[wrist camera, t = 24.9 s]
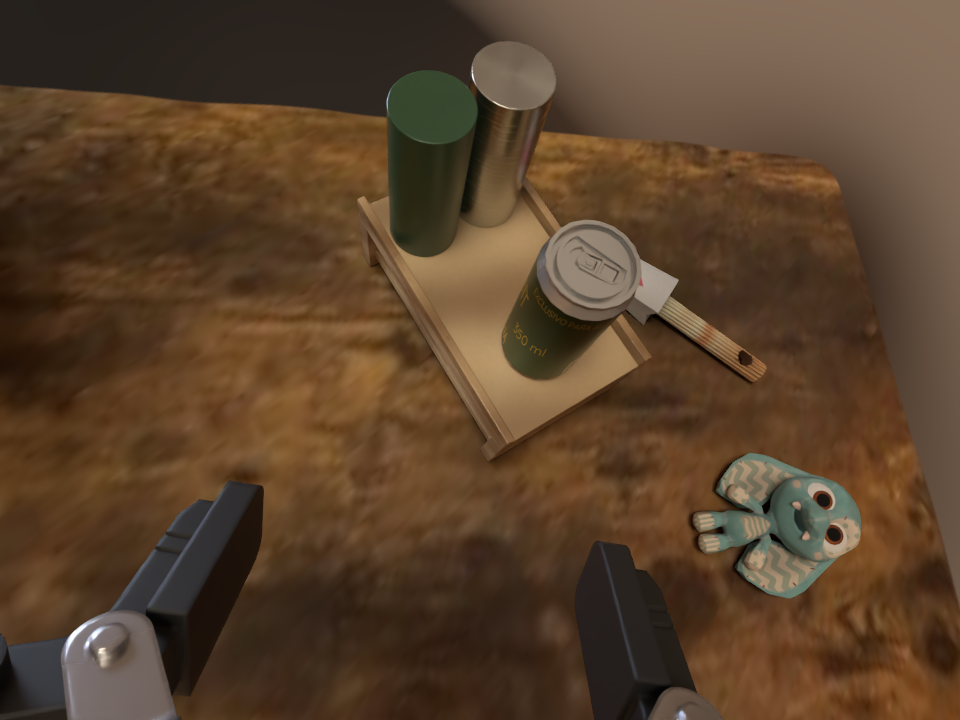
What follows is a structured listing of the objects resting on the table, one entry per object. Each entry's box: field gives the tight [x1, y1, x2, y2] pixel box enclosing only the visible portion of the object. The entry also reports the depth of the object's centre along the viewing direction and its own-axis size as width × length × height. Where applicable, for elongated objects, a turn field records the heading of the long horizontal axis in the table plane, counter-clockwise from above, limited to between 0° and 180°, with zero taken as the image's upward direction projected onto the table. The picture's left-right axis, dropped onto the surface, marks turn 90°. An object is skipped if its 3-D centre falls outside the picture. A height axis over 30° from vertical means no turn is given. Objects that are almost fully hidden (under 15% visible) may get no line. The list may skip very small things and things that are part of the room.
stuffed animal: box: [693, 453, 861, 599], centre depth 42 cm, size 11×7×12 cm
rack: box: [357, 41, 651, 462], centre depth 38 cm, size 20×12×19 cm, turn 31°
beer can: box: [502, 220, 642, 379], centre depth 33 cm, size 5×5×12 cm
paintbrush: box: [626, 260, 767, 382], centre depth 48 cm, size 4×3×20 cm
